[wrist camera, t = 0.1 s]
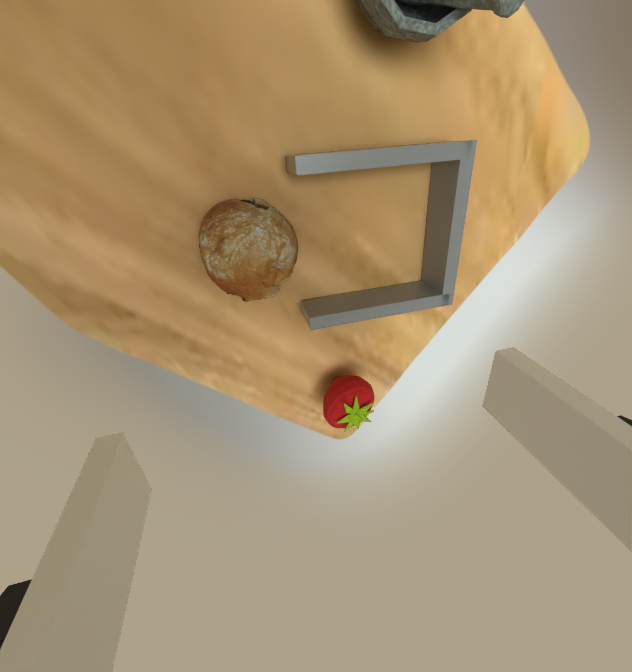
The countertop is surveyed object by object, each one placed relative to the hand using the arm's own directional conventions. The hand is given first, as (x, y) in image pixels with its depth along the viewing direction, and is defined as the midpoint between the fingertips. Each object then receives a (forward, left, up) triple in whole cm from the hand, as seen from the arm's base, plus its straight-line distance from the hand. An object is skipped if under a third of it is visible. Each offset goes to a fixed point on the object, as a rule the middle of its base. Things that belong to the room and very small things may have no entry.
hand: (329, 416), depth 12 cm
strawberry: (+21, +8, -28) cm, 36 cm away
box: (+1, +12, -28) cm, 31 cm away
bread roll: (+1, -1, -28) cm, 28 cm away
